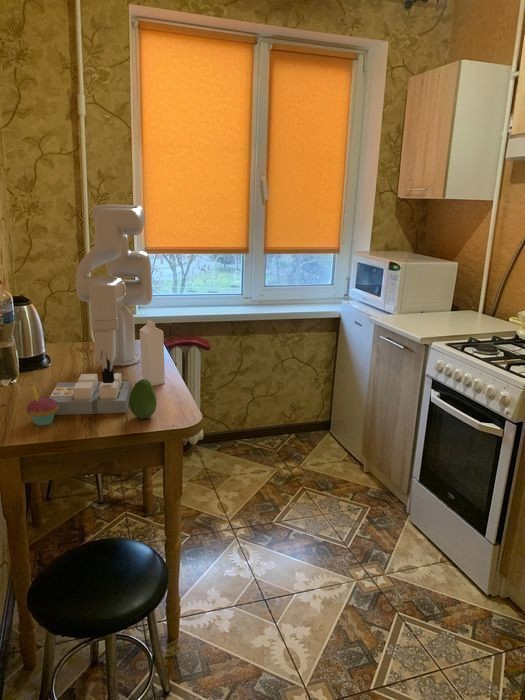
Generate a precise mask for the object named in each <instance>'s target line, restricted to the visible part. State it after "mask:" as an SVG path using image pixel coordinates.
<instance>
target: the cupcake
mask: <svg viewBox="0 0 525 700" xmlns="http://www.w3.org/2000/svg"><path fill="white" fill-rule="evenodd" d="M31 386H32V387H31V388H32V391H33V394H34V397H35V399H33V400H31V401H30V402H29V403H28V404H27V406H26V407H25V409H26V412H27V414H28V415H29V416H31V418H32V420H33V422H34V424H35V425H36V426H48V425H50V424H52V423H53V422H54V417H55V415H54V414H55V413H56V412H57V411H58V410H59V405H58V402H56V401H55V400H54V399H51V398H49V397H39V396H38V393H37V389H36V387H35V385H34V384H33V383H31Z"/></svg>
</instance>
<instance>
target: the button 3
mask: <svg viewBox="0 0 525 700" xmlns="http://www.w3.org/2000/svg"><path fill="white" fill-rule="evenodd" d="M100 382H101V385H100V387H99V394H100V399H118V398H119V385H118V382H113V383H103V381H100Z"/></svg>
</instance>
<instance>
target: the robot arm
mask: <svg viewBox="0 0 525 700" xmlns="http://www.w3.org/2000/svg"><path fill="white" fill-rule="evenodd" d="M91 215H92V219H93V222H94V223H95V226H94V228H95V229H94V242H93V243H94V245H93V248H92V249H91V250H89V251H88V252H87V253H86V254H85V255H84V257H83V258H82V259H81V261H80V262H79V265H78V267H77V270H76V283H75V284H76V285H75V286H76V287H75V291H76V295H77V298H78V300H80V301H82V302H85V303H86V302H87V303H89V306H90V307H89V308H90V323H91V330H92V331H93V332H94V363H95V364H97V365H98V364H99V363H100V362H101V374H102V375H101V376H102V382H103V383H113V382H114V373H115V371H114V366H118V367H120V366H121V367H124V366H132V365H135V364H138V363H139V362H141V356H139V355H138V354H136V335H135V334H136V333H135V332H136V331H135V317H134V313H132V311H131V310H130V309H129V306H148V305H150V304H151V303H152V300H153V286H152V284H153V283H152V280H153V279H152V267H151V266H152V263H151V259H150V256H149V254H148V253H147V252H146V251H143V250H130V247H129V237H128V236H138V235H141V233H142V232H143V229H144V226H145V224H146V223H145V221H146V215H145V211H144V209H143V207H142V206H141V205H137V204H136V205H135V204H109V203H107V204H105V203H104V204H97V205H94V207H93V208H92V210H91ZM102 265H105V267H106V268H105V269H106V273H107V274H108V275H109V276H89V275H90V273H91V272H93V270H95V269H96V268H98V267H100V266H102ZM122 278H137V279H122Z"/></svg>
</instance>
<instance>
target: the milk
mask: <svg viewBox="0 0 525 700" xmlns="http://www.w3.org/2000/svg"><path fill="white" fill-rule="evenodd" d="M146 322H147V323H146V324H145V325H143V326H142V328H140V329H139V341H140V343H139V344H140V345H139V346H140V347H139V348H140V366H141V367H140V370H141V380H142V379H147V380H148V381H149V382H150V383H151V385H152V387H153V386H154V385H155V386H159V385H164V384H166V381H165V380H166V377H165V376H166V375H165V346H164V344H165V343H164V342H165V339H164V337H165V336H164V331H163V330H162V329H160V328H157V327H156V323H155V322H153V321H151V320H149V319H147V321H146ZM163 383H164V384H163ZM158 384H159V385H158ZM155 386H154V387H155Z"/></svg>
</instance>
